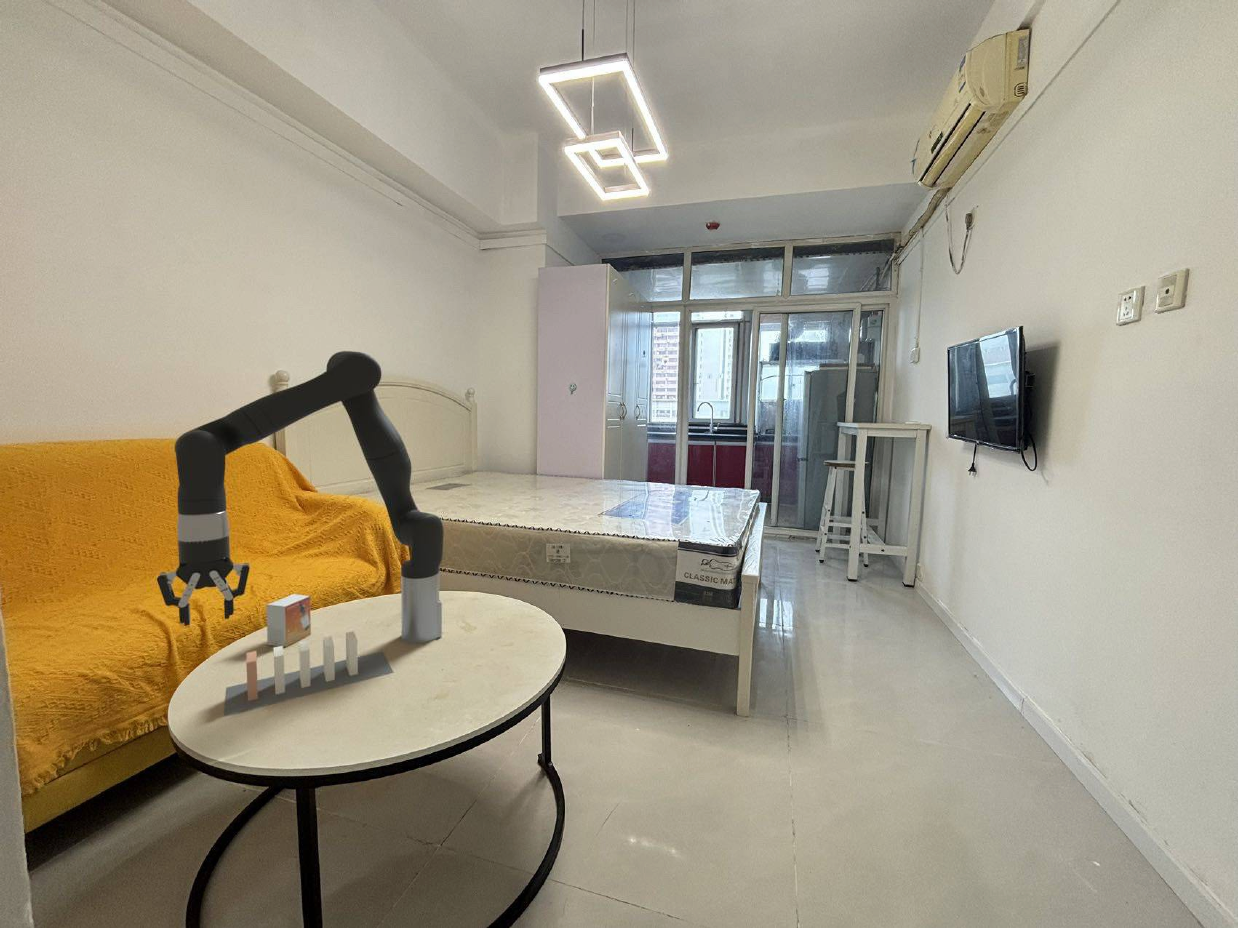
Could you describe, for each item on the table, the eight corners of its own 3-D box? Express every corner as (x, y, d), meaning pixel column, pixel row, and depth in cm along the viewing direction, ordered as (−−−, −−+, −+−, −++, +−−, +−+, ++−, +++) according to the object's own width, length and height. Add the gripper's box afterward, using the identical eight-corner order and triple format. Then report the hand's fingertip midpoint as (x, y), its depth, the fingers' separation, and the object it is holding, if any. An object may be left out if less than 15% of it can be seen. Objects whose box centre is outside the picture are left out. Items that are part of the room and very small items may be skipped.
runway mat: (382, 652, 121) (382, 651, 121) (393, 673, 112) (393, 672, 111) (226, 689, 103) (226, 687, 103) (223, 718, 94) (223, 716, 94)
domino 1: (257, 687, 104) (256, 650, 103) (257, 698, 100) (256, 660, 99) (248, 689, 103) (246, 652, 102) (247, 701, 99) (246, 662, 98)
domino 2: (283, 681, 106) (282, 645, 106) (284, 692, 102) (283, 655, 102) (274, 683, 105) (273, 647, 105) (275, 694, 101) (274, 657, 101)
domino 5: (354, 664, 114) (353, 631, 114) (357, 673, 110) (357, 639, 110) (346, 666, 113) (345, 632, 113) (349, 675, 109) (349, 641, 109)
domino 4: (331, 669, 112) (331, 635, 111) (334, 679, 108) (333, 644, 107) (323, 671, 111) (322, 637, 110) (326, 681, 107) (325, 646, 106)
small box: (285, 648, 122) (284, 606, 121) (266, 645, 123) (265, 604, 122) (311, 634, 130) (310, 595, 129) (293, 631, 131) (292, 593, 130)
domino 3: (308, 675, 109) (307, 640, 108) (310, 685, 105) (309, 649, 104) (299, 677, 108) (298, 642, 107) (301, 687, 104) (300, 651, 103)
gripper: (149, 544, 87) (154, 636, 89) (250, 534, 96) (253, 619, 97) (156, 535, 93) (160, 622, 95) (251, 527, 102) (254, 607, 103)
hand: (207, 620), depth 96 cm, fingers open, 5 cm apart
